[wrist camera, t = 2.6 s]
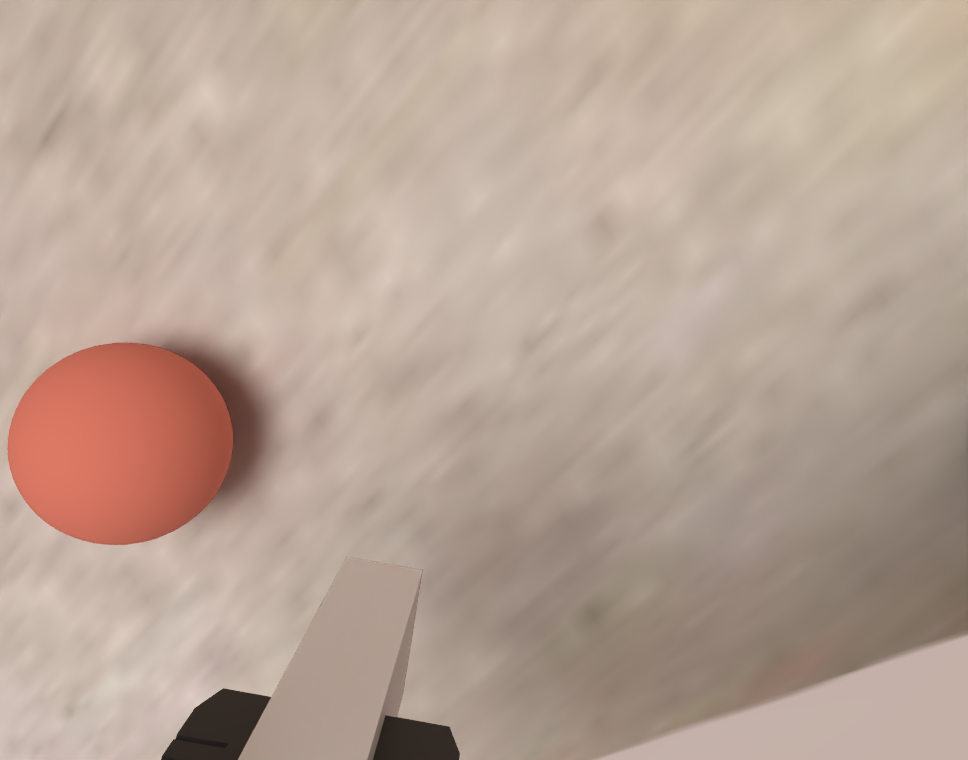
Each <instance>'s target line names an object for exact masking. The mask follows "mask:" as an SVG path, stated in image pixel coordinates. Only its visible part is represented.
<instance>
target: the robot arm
mask: <svg viewBox="0 0 968 760" xmlns="http://www.w3.org/2000/svg"><path fill="white" fill-rule="evenodd" d="M422 571H423V570H420V569H414V568H408V567H403V566H397V565H391V564H386V563H380V562H374V561H369V560H363V559H357V558H352V557H346V559H345V561H344V562H343V564H342V566H341V568H340V570H339V572H338V574H337V576H336V577H335V579H334V581H333V583H332V585H331V587H330V589H329V590H328V592H327V594H326V596H325V598H324V600H323V602H322V604H321V605H320V607H319V609H318V611H317V613H316V615H315V617H314V618H313V620H312V622H311V624H310V626H309V628H308V630H307V632H306V633H305V635H304V637H303V639H302V641H301V643H300V645H299V646H298V648H297V650H296V652H295V654H294V656H293V658H292V660H291V661H290V663H289V665H288V667H287V669H286V671H285V673H284V674H283V676H282V678H281V680H280V682H279V684H278V686H277V687H276V689H275V691H274V693H273V695H272V697H268V696H262V695H257V694H251V693H245V692H240V691H234V690H229V689H222V690H220V691H219V692H217V693H216V694H215V695H213V696H212V697H210V698H209V699H207V700H206V701H204V702H203V703H202V704H200V705H199V706H197V707H196V708H195V709H194V710H193V712H192V713H191V715H190V716H189V718H188V719H187V720H186V722H185V723H184V725H183V726H182V728H181V729H180V731H179V732H178V734H177V737H176V739H173V741H172V742H171V744H170V745H169V747H168V748H167V750H166V751H165V753H164V754H163V756H162V759H161V760H459V755H460V753H459V750H458V748H457V745H456V743H455V740H454V738H453V735H452V732H451V730H450V727H448V726H442V725H437V724H431V723H426V722H420V721H414V720H409V719H403V718H398V717H397V715H398V711H399V707H400V703H401V699H402V696H403V691H404V685H405V678H406V672H407V666H408V659H409V653H410V647H411V640H412V634H413V628H414V621H415V615H416V609H417V602H418V596H419V590H420V583H421V577H422Z"/></svg>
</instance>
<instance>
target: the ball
mask: <svg viewBox="0 0 968 760" xmlns="http://www.w3.org/2000/svg"><path fill="white" fill-rule="evenodd" d="M232 450H233V430H232V423H231V419H230V415H229V412H228V409H227V406H226V404H225V402H224V400H223V398H222V396H221V394H220V392H219V391H218V389H217V388H216V386H215V385H214V384H213V382H212V381H211V380H210V379H209V378H208V377H207V376H206V375H205V374H204V373H203V372H202V371H201V370H200V369H199V368H198V367H196V366H195V365H194V364H192V363H191V362H189V361H188V360H187V359H185V358H183V357H181V356H179V355H177V354H175V353H173V352H170V351H167V350H165V349H162V348H159V347H155V346H151V345H146V344H137V343H112V344H105V345H99V346H94V347H91V348H87V349H84V350H81V351H79V352H76V353H74V354H72V355H70V356H68V357H66V358H64V359H62V360H61V361H59V362H57V363H56V364H55V365H53V366H52V367H50V368H49V369H47V370H46V371H45V372H44V373H43V374H42V375H41V376H39V377H38V378H37V379H36V381H35V382H34V383H33V384H32V385H31V386H30V387H29V389H28V390H27V391H26V393H25V394H24V396H23V398H22V399H21V401H20V403H19V405H18V407H17V408H16V411H15V413H14V416H13V418H12V422H11V426H10V430H9V437H8V460H9V465H10V470H11V473H12V476H13V479H14V482H15V484H16V486H17V488H18V490H19V492H20V494H21V495H22V497H23V499H24V500H25V501H26V502H27V504H28V505H29V506H30V508H31V509H32V510H33V511H34V512H35V513H36V514H37V515H38V516H39V517H40V518H41V519H43V520H44V521H45V522H46V523H48V524H49V525H51V526H52V527H54V528H55V529H57V530H59V531H61V532H63V533H65V534H67V535H69V536H72V537H75V538H77V539H80V540H84V541H88V542H92V543H98V544H108V545H126V544H133V543H140V542H145V541H149V540H152V539H156V538H158V537H161V536H163V535H166V534H168V533H170V532H173V531H175V530H176V529H178V528H180V527H181V526H183V525H184V524H186V523H187V522H189V521H190V520H192V519H193V518H194V517H195V516H197V515H198V514H199V513H200V512H201V511H202V510H203V509H204V508H205V507H206V506H207V504H208V503H209V502H210V501H211V500H212V499H213V497H214V496H215V494H216V493H217V491H218V490H219V488H220V487H221V485H222V483H223V481H224V479H225V476H226V474H227V472H228V468H229V465H230V461H231V456H232Z"/></svg>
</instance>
